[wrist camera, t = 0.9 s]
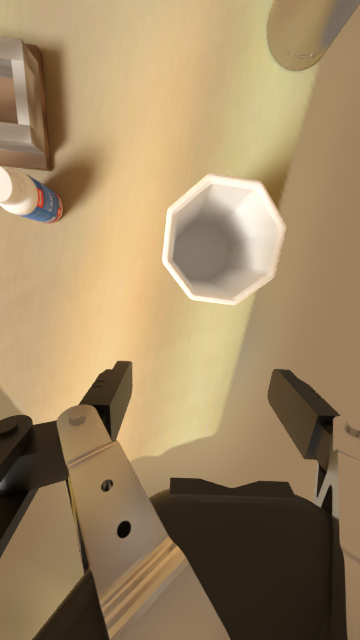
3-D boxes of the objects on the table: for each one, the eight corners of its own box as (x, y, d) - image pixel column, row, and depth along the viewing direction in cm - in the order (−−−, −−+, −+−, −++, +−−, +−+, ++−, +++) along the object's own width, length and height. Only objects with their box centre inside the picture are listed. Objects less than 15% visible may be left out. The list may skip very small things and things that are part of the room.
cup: (245, 240, 35) (315, 218, 17) (210, 296, 37) (240, 327, 20) (189, 204, 33) (203, 138, 15) (157, 265, 36) (137, 268, 18)
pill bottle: (69, 218, 33) (27, 201, 24) (40, 228, 34) (-13, 215, 25) (54, 182, 32) (3, 149, 23) (24, 193, 32) (-39, 165, 23)
